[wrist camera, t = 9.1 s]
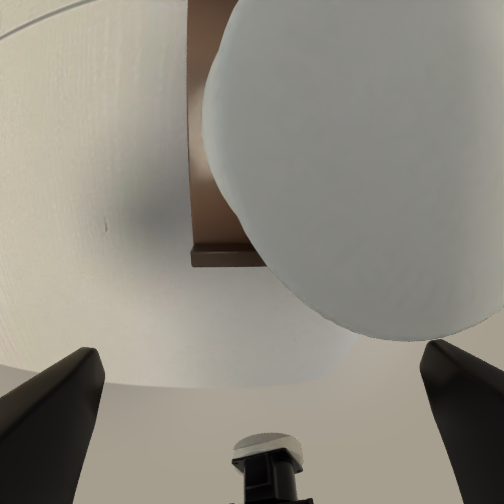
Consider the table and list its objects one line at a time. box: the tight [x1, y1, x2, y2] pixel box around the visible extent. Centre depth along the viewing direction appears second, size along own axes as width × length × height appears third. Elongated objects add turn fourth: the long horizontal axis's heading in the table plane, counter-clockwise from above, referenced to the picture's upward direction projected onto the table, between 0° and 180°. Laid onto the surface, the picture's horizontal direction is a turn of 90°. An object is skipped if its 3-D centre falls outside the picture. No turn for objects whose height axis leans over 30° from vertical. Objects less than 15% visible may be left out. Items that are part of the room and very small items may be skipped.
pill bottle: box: [202, 0, 504, 342], centre depth 8 cm, size 6×6×11 cm
